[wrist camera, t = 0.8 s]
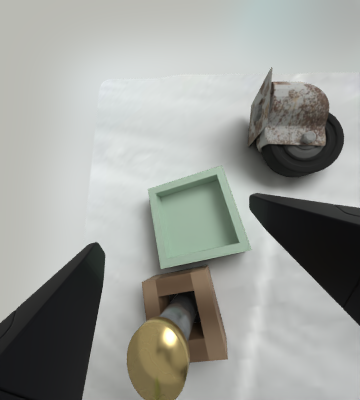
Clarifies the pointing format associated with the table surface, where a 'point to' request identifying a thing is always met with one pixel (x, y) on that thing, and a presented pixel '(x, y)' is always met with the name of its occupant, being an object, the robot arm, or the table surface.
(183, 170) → the table surface
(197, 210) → the tray
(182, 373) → the pin
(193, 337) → the socket block
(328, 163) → the caster wheel
